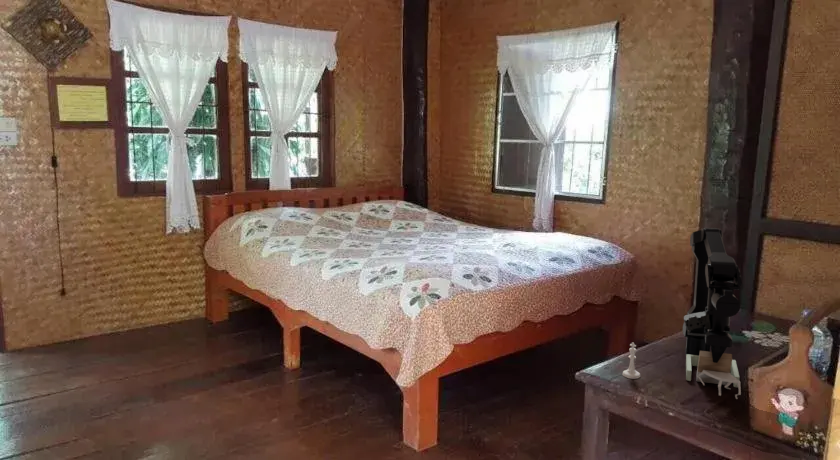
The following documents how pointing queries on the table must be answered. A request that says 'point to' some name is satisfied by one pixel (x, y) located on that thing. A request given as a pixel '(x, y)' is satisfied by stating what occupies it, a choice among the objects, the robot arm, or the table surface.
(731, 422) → the table surface
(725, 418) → the table surface
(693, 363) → the green c-shaped bracket
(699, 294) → the robot arm
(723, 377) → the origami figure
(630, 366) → the chess piece
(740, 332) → the table surface
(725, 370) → the two-tone wooden slab
